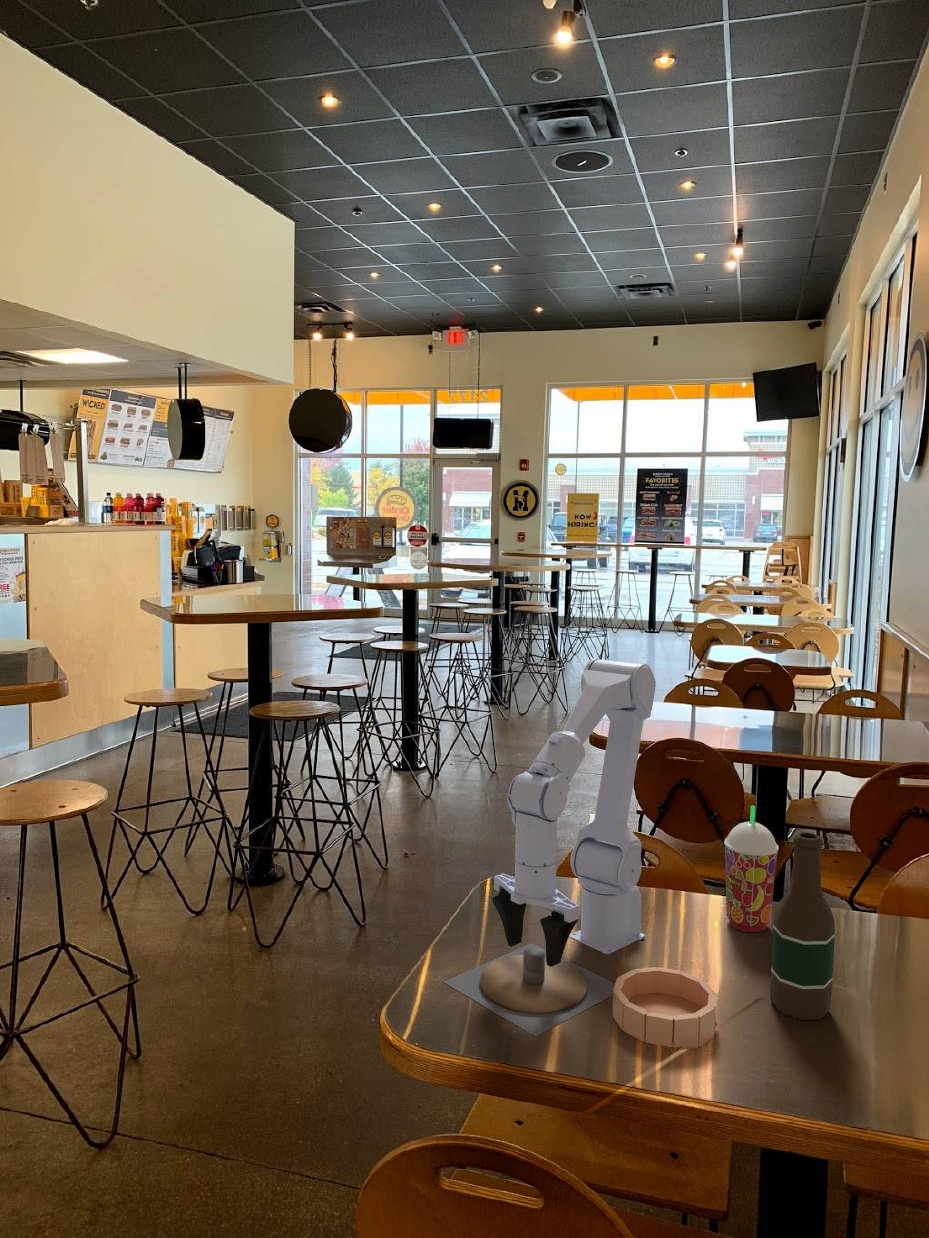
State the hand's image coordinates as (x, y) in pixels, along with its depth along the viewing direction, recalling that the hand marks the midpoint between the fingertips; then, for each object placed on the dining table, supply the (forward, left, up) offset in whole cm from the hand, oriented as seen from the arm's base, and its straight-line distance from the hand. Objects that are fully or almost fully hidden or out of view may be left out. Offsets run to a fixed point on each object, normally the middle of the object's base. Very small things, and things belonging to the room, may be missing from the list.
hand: (533, 953), depth 125 cm
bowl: (-7, +17, -5) cm, 19 cm away
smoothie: (-41, +9, -5) cm, 42 cm away
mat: (0, 0, -5) cm, 5 cm away
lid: (0, 0, -5) cm, 5 cm away
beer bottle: (-24, +27, -5) cm, 37 cm away
